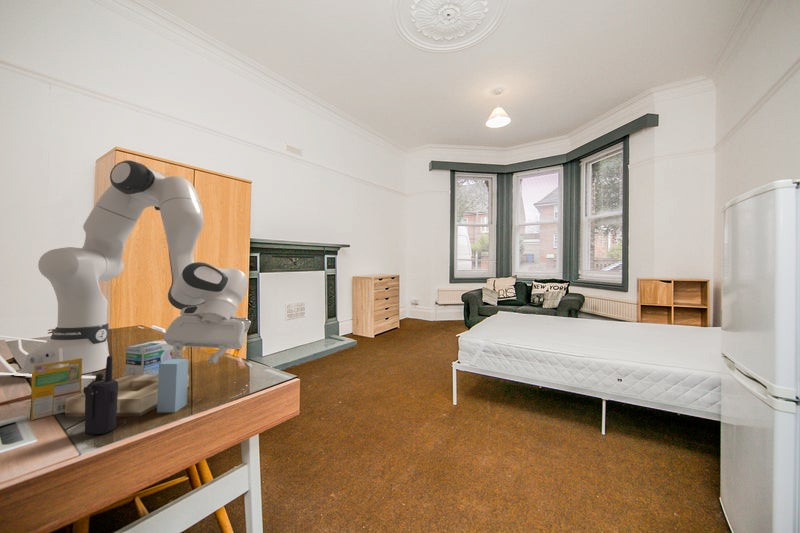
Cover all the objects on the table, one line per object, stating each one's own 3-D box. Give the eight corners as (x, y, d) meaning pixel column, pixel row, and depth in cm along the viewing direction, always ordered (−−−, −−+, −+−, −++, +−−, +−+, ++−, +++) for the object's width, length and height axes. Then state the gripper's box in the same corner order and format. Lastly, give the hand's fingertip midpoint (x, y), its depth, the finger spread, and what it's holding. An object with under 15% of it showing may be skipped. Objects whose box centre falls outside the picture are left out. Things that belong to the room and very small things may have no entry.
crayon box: (78, 405, 71) (80, 356, 71) (80, 408, 69) (83, 358, 70) (29, 416, 65) (32, 363, 65) (30, 420, 63) (33, 365, 64)
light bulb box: (142, 387, 82) (144, 348, 83) (123, 385, 84) (124, 346, 84) (178, 375, 93) (179, 340, 93) (160, 373, 94) (162, 338, 95)
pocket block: (65, 416, 65) (65, 398, 66) (128, 388, 81) (128, 374, 81) (140, 416, 66) (141, 399, 66) (188, 388, 82) (189, 374, 82)
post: (156, 412, 68) (159, 363, 68) (169, 404, 72) (171, 358, 72) (175, 412, 68) (176, 363, 69) (186, 404, 72) (188, 359, 73)
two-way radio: (120, 428, 61) (124, 354, 61) (95, 440, 57) (99, 360, 57) (98, 425, 62) (101, 352, 62) (71, 437, 57) (75, 358, 58)
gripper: (255, 324, 90) (237, 368, 81) (186, 319, 89) (160, 364, 80) (249, 312, 85) (230, 358, 76) (176, 307, 85) (147, 353, 75)
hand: (193, 361), depth 78 cm, fingers open, 8 cm apart
